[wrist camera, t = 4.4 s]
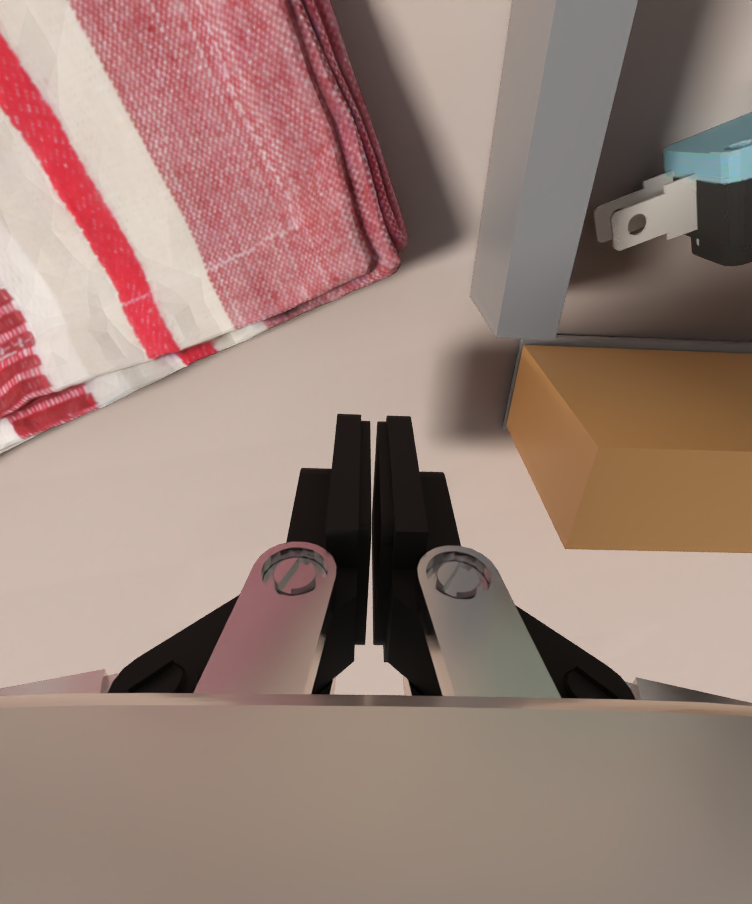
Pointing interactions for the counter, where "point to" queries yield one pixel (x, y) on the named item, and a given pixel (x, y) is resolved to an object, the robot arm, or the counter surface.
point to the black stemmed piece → (693, 197)
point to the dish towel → (173, 190)
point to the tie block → (638, 446)
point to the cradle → (551, 170)
